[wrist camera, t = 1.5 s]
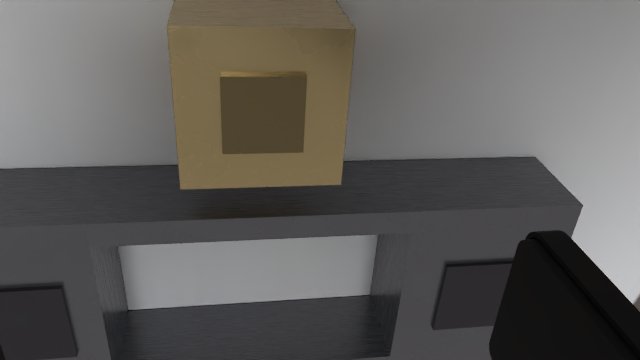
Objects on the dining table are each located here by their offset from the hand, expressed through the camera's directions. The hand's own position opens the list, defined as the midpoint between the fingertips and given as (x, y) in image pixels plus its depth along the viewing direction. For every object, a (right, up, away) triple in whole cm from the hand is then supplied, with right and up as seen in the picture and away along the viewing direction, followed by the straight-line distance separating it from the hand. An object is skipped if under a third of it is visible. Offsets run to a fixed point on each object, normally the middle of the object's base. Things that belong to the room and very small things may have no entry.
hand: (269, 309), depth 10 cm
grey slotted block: (-1, -1, +16) cm, 16 cm away
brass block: (-2, +7, +11) cm, 13 cm away
